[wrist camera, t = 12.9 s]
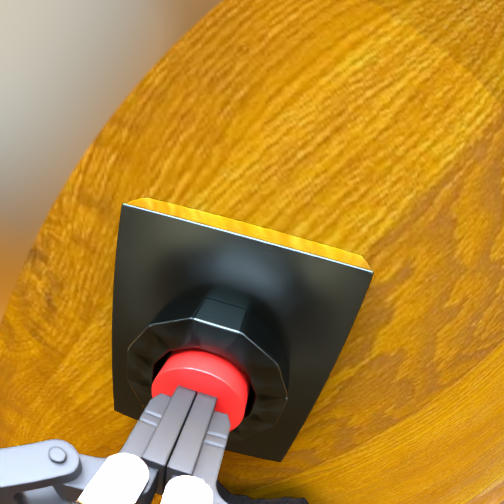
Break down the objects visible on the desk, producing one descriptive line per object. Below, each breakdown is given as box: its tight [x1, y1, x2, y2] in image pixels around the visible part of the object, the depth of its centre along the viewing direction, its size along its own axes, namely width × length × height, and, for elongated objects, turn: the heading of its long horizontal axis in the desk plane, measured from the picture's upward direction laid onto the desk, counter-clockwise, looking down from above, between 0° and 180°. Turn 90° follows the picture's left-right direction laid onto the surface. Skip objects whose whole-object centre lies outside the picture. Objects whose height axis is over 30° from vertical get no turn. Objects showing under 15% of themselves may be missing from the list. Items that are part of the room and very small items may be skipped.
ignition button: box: [152, 347, 250, 432], centre depth 11 cm, size 4×4×2 cm
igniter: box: [112, 197, 374, 462], centre depth 13 cm, size 12×10×4 cm
